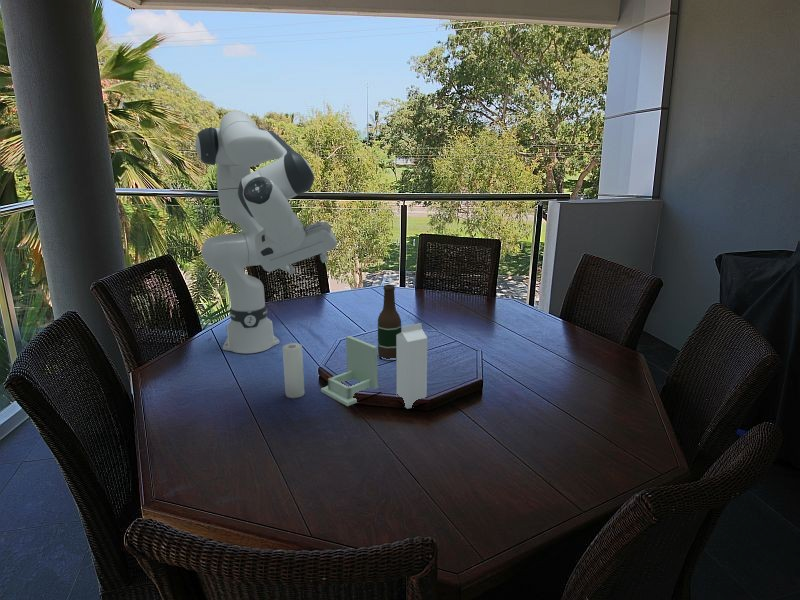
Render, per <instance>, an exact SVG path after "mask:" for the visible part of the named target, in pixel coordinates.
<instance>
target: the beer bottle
mask: <svg viewBox="0 0 800 600" xmlns="http://www.w3.org/2000/svg"><path fill="white" fill-rule="evenodd" d="M382 288H383V290H384V291H383V306H382V310H381V312H380V313H379V315H378V318H377V355H378V354H379V355H378V357H379V356H380V357H383V358H386V359H390V358H396V335H397V334H399V333H401V332H402V319H401V317H400V314H399V312H398V311H397V309H396V297H395V290H396V287H395V285H393V284H386V285H383V287H382ZM380 357H379V358H380Z"/></svg>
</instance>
